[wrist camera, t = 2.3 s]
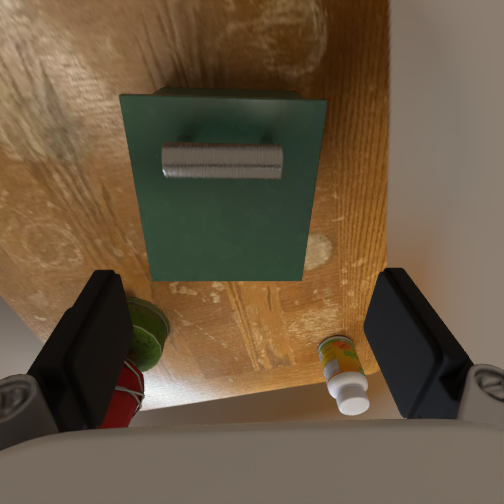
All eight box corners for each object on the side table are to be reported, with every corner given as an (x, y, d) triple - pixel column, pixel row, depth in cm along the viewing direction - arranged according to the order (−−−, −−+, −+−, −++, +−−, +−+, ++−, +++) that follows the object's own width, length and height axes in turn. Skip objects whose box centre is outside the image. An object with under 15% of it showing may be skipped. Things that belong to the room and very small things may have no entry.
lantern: (93, 280, 41) (-139, 661, 16) (177, 296, 43) (91, 657, 18) (91, 351, 48) (-70, 691, 23) (163, 362, 50) (88, 686, 25)
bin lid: (121, 93, 19) (85, 109, 14) (325, 98, 19) (352, 115, 15) (153, 276, 26) (135, 325, 22) (300, 276, 27) (313, 324, 22)
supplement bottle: (360, 344, 49) (384, 403, 41) (335, 362, 52) (353, 422, 43) (335, 329, 47) (355, 389, 39) (310, 350, 50) (325, 410, 42)
